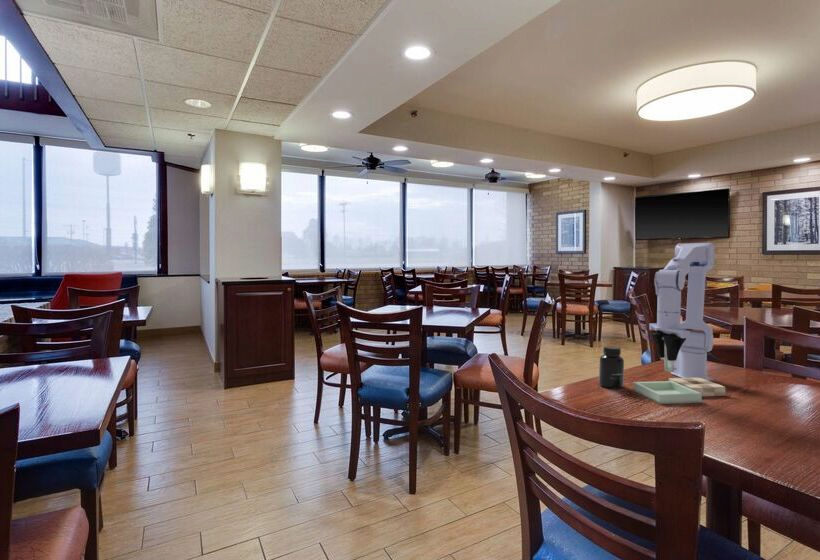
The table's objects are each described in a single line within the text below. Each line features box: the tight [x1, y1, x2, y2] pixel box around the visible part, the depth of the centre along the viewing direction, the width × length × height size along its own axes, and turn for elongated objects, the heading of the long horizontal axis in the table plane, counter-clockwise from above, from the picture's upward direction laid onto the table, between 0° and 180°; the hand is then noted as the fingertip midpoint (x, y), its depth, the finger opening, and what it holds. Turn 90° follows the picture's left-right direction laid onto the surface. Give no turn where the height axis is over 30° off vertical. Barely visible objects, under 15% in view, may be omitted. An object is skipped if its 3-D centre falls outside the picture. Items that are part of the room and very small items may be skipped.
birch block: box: [667, 377, 726, 397], centre depth 127 cm, size 10×10×2 cm
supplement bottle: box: [598, 345, 625, 389], centre depth 133 cm, size 7×7×12 cm
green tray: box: [632, 380, 703, 405], centre depth 122 cm, size 12×12×2 cm
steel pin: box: [662, 337, 674, 373], centre depth 123 cm, size 3×3×10 cm
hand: (667, 359), depth 123 cm, fingers closed on steel pin, 3 cm apart
